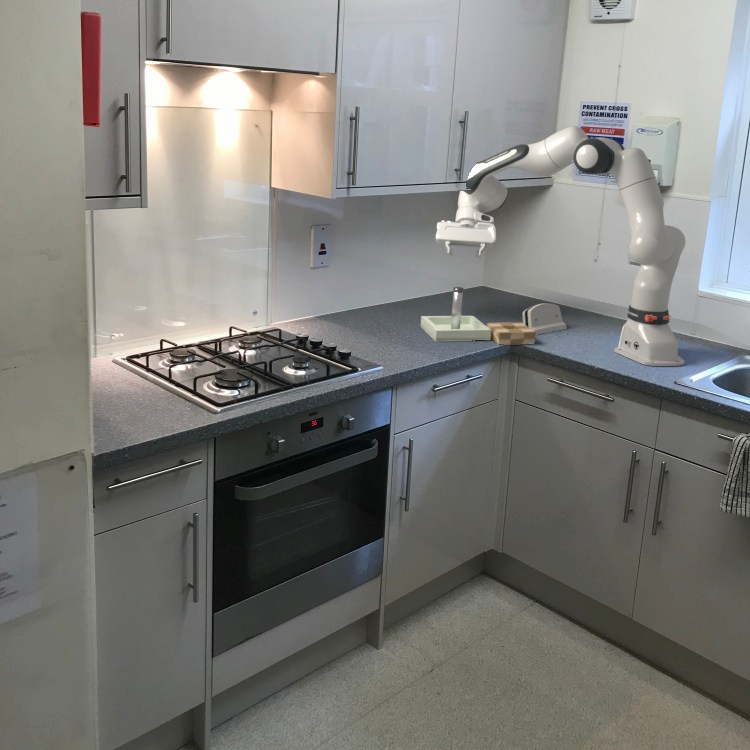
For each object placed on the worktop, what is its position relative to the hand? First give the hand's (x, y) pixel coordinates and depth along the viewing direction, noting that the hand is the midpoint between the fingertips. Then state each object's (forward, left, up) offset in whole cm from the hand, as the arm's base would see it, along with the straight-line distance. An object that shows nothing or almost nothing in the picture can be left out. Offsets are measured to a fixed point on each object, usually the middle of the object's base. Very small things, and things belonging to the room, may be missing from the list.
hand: (463, 255), depth 295 cm
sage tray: (-11, +5, -23) cm, 26 cm away
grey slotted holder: (-8, -27, -24) cm, 37 cm away
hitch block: (-19, -11, -23) cm, 32 cm away
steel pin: (-11, +5, -22) cm, 26 cm away
